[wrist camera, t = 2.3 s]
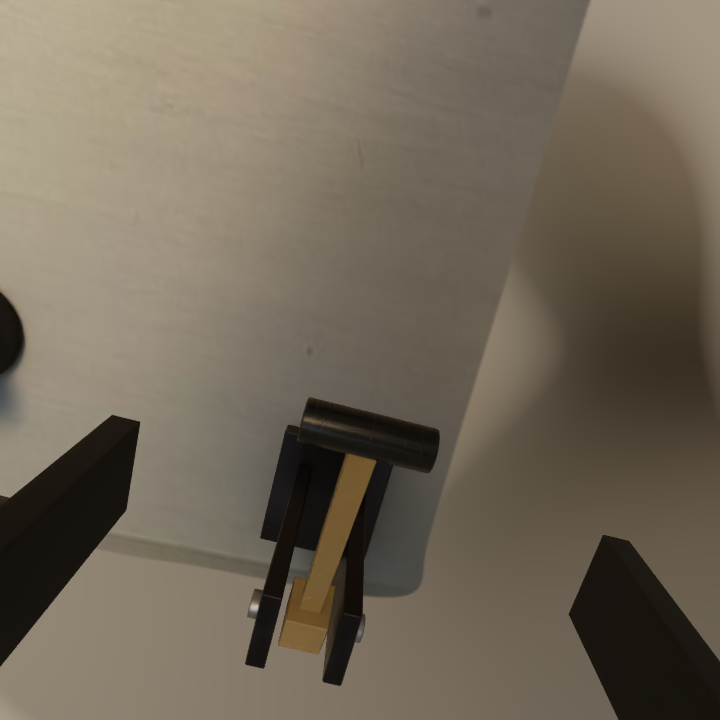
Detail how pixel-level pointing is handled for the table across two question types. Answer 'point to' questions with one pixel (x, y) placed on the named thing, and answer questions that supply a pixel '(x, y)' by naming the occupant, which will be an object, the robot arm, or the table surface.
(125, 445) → the robot arm
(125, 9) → the table surface
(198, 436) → the table surface
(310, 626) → the switch lever
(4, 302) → the webcam
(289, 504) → the switch bracket
